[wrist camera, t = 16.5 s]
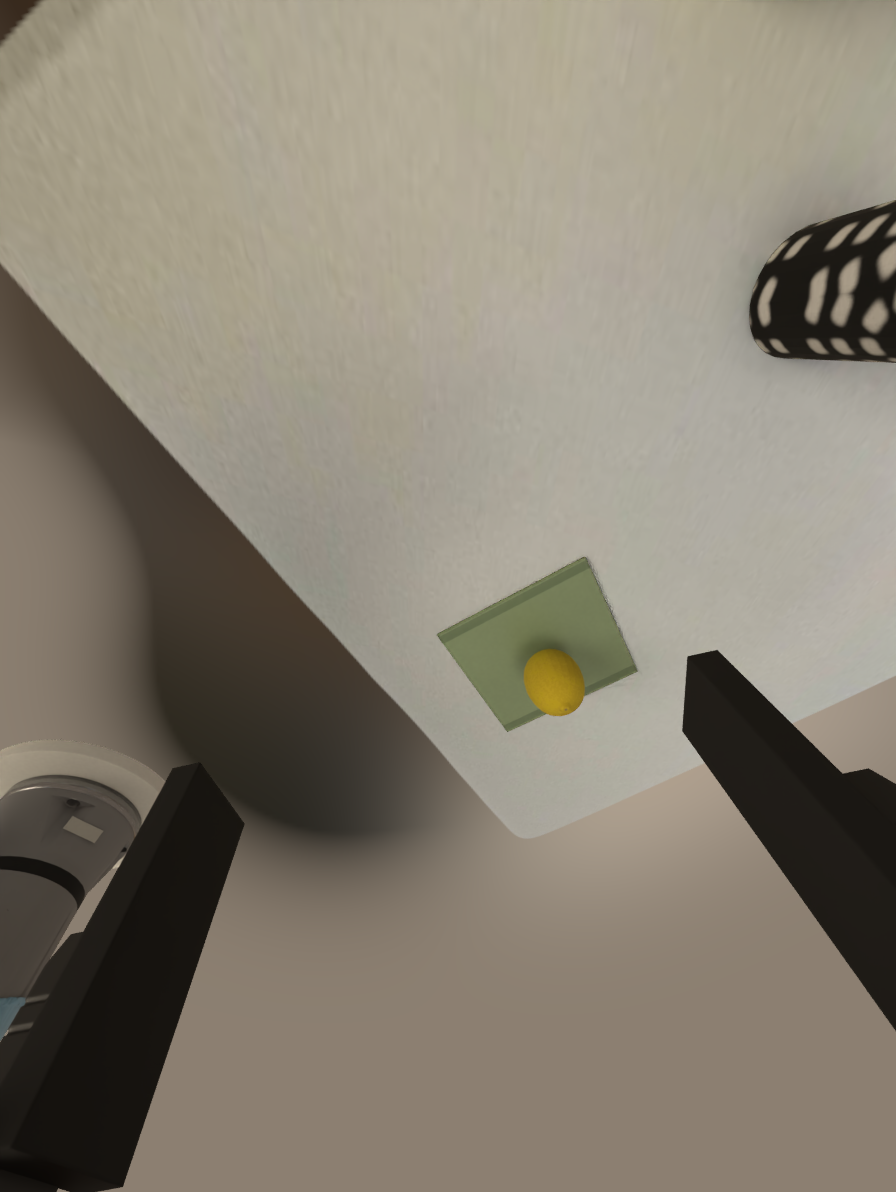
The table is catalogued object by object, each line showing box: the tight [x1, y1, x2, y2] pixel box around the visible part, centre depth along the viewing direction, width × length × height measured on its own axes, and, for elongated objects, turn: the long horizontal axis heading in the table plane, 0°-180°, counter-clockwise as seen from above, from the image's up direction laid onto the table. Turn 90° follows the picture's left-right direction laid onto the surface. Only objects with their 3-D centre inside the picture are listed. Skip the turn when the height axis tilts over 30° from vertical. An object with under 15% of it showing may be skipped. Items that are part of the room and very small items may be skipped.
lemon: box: [524, 649, 585, 716], centre depth 44 cm, size 6×6×8 cm
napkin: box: [437, 557, 637, 732], centre depth 47 cm, size 16×16×1 cm
